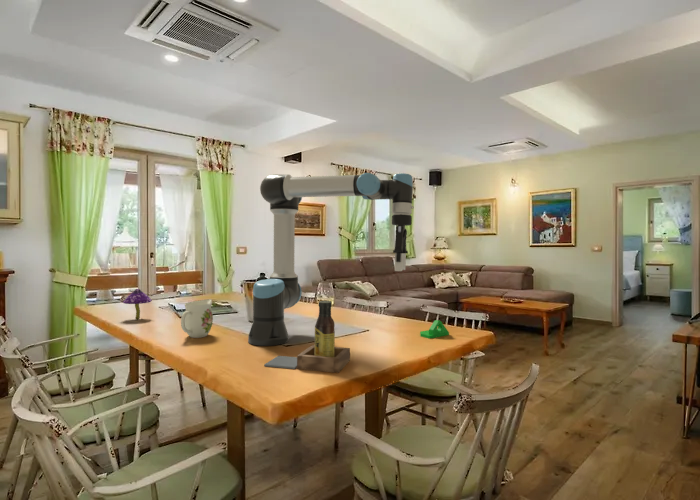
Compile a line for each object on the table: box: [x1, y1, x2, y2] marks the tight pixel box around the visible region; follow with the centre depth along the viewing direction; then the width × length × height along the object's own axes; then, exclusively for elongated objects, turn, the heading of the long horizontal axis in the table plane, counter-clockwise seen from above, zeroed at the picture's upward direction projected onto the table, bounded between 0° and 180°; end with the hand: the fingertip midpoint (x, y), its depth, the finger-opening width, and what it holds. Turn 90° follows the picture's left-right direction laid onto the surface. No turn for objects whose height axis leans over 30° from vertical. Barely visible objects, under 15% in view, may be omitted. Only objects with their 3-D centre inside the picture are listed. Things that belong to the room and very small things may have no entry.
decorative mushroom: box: [122, 288, 152, 320], centre depth 195 cm, size 12×12×15 cm
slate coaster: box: [264, 355, 297, 370], centre depth 127 cm, size 10×10×1 cm
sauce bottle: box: [314, 300, 336, 357], centre depth 126 cm, size 6×6×20 cm
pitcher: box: [180, 298, 214, 339], centre depth 162 cm, size 11×18×14 cm, turn 164°
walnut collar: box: [296, 344, 351, 374], centre depth 126 cm, size 13×13×4 cm
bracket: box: [419, 319, 450, 340], centre depth 168 cm, size 12×8×7 cm, turn 126°
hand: (400, 270), depth 154 cm, fingers open, 13 cm apart
